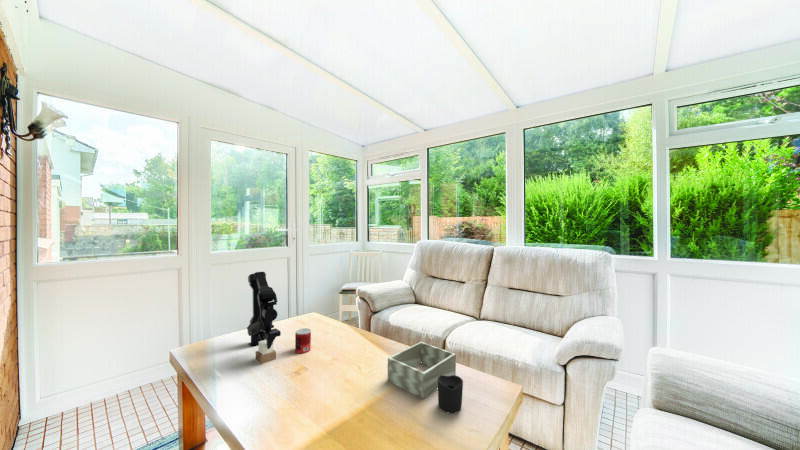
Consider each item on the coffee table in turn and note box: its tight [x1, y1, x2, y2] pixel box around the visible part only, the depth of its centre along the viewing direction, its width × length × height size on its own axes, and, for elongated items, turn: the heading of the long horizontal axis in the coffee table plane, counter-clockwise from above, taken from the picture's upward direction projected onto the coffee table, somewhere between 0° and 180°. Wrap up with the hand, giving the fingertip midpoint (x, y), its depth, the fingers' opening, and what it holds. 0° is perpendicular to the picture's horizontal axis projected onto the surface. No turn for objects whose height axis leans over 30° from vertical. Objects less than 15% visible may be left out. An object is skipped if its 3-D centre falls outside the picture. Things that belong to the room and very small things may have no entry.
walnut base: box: [255, 349, 277, 365], centre depth 146 cm, size 7×7×4 cm
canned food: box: [294, 327, 312, 355], centre depth 156 cm, size 8×8×11 cm
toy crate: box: [387, 341, 457, 400], centre depth 131 cm, size 20×24×10 cm
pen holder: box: [437, 374, 464, 414], centre depth 111 cm, size 9×9×10 cm
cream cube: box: [257, 340, 274, 355], centre depth 146 cm, size 5×5×5 cm
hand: (265, 346), depth 146 cm, fingers open, 6 cm apart
